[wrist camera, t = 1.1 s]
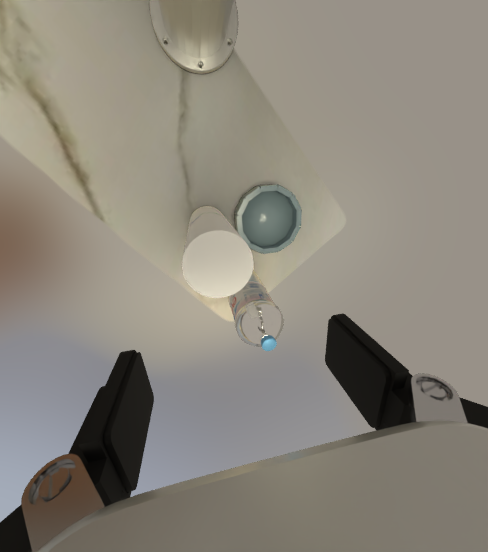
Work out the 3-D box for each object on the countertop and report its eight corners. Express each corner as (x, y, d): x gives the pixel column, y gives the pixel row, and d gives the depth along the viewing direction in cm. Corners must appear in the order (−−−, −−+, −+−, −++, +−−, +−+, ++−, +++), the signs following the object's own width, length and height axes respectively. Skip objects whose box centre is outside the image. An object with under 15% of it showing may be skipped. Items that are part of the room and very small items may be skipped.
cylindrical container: (181, 221, 44) (165, 262, 22) (209, 198, 44) (224, 214, 21) (205, 249, 47) (214, 310, 24) (232, 227, 47) (266, 269, 24)
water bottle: (243, 290, 52) (279, 372, 30) (216, 280, 50) (232, 360, 28) (256, 264, 51) (305, 330, 28) (229, 252, 48) (258, 314, 26)
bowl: (232, 187, 44) (234, 188, 41) (296, 182, 46) (302, 182, 43) (237, 252, 49) (239, 256, 46) (294, 245, 51) (300, 249, 48)
